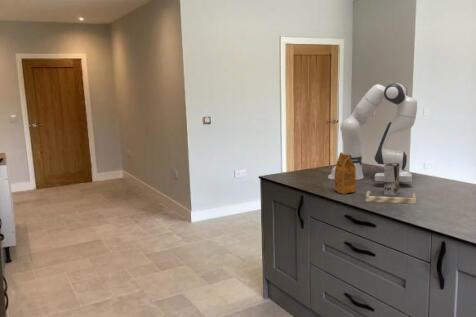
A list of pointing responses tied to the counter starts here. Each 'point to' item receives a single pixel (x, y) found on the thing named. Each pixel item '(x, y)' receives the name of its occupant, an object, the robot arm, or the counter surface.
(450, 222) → the counter surface
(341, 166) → the coffee package
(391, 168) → the coffee box
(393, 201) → the birch bay
